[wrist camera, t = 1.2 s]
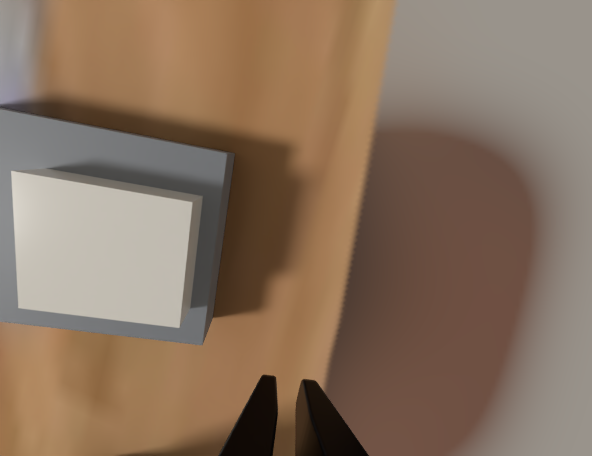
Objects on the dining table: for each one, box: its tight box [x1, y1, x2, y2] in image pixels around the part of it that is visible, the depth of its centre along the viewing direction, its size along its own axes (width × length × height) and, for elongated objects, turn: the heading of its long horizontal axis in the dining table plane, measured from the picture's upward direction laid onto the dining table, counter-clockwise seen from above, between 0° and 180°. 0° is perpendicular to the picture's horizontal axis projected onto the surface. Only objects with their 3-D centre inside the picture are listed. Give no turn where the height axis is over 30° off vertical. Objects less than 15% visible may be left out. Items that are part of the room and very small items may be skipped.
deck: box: [0, 107, 235, 345], centre depth 17 cm, size 12×14×3 cm
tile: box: [11, 168, 203, 328], centre depth 15 cm, size 7×8×2 cm
